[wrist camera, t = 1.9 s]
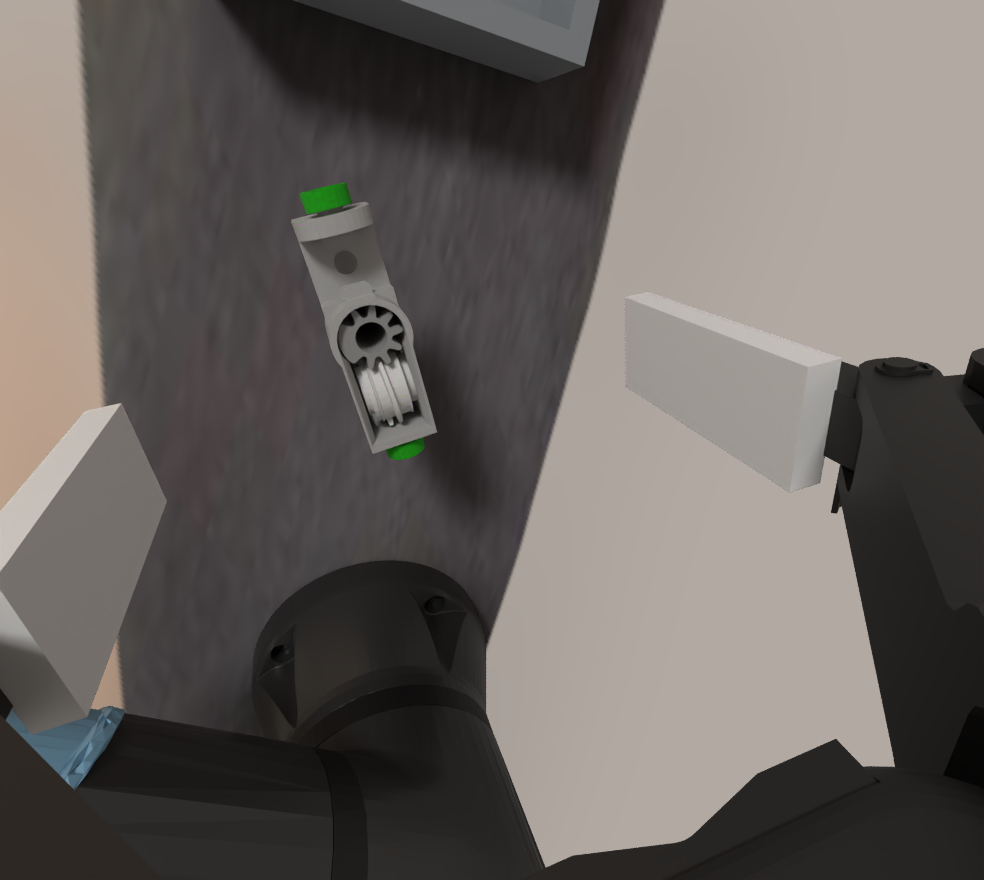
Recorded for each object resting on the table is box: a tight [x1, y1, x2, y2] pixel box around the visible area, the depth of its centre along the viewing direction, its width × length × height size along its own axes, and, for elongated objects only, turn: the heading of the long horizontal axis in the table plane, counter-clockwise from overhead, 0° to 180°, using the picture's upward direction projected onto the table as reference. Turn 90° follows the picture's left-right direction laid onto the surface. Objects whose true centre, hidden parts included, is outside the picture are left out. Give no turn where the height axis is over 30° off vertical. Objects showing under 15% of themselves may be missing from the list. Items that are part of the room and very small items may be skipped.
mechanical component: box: [291, 183, 437, 460], centre depth 25 cm, size 3×10×10 cm, turn 12°
